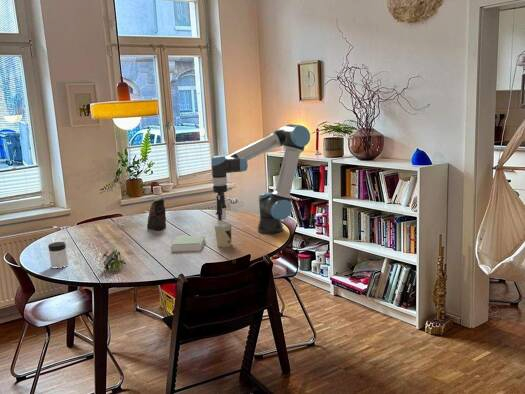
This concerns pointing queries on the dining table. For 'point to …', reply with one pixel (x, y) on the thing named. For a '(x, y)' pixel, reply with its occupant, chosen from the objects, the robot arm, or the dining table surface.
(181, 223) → the dining table surface
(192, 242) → the plinth
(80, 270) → the dining table surface
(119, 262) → the small green plant
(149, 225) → the owl
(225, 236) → the coffee cup
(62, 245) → the jar
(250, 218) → the dining table surface
